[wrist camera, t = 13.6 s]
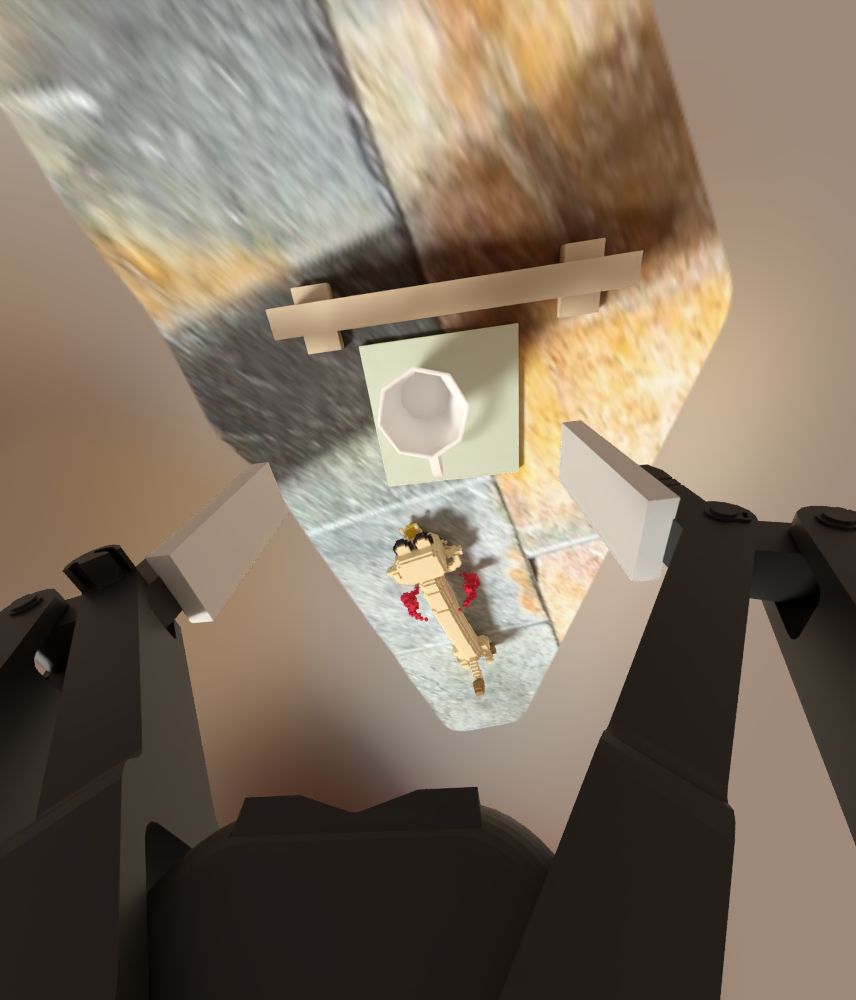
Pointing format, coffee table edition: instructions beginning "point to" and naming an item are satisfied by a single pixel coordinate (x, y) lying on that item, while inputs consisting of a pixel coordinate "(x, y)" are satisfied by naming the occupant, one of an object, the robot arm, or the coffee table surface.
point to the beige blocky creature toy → (440, 593)
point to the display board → (484, 383)
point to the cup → (423, 414)
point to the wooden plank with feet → (458, 296)
